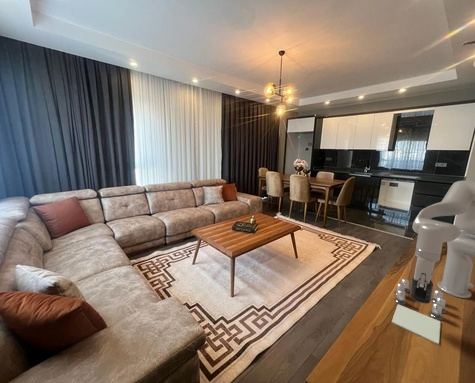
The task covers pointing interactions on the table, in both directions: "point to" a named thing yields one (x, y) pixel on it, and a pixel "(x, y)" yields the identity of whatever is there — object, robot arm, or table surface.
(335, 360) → the table surface
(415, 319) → the sage pad
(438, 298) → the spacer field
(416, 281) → the supplement bottle
